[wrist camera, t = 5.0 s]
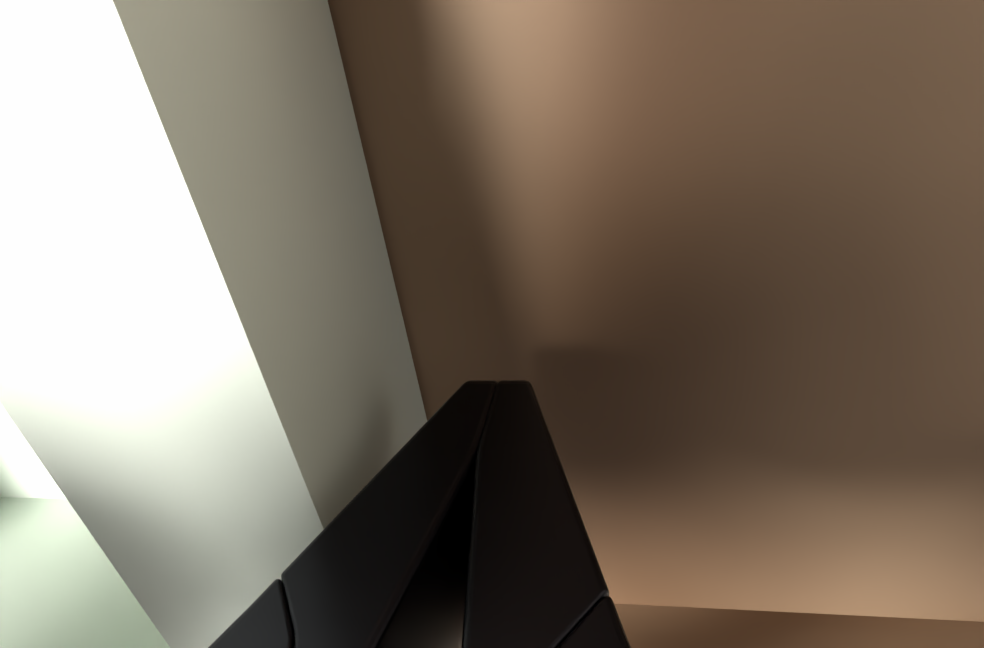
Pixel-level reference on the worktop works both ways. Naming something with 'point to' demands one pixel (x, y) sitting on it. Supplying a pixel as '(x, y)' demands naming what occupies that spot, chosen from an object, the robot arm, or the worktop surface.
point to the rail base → (709, 288)
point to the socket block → (182, 314)
